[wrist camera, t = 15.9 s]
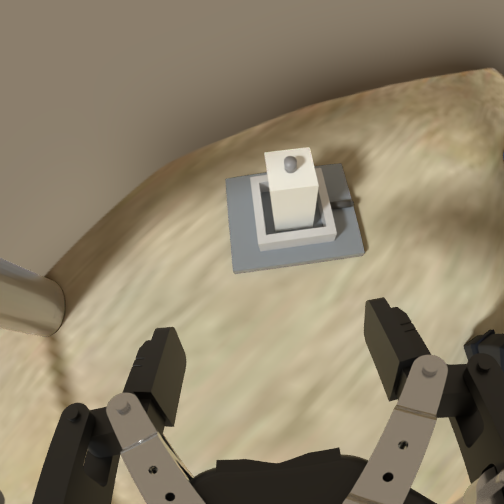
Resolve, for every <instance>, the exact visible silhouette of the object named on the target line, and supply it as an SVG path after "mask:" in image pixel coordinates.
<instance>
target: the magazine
mask: <svg viewBox="0 0 504 504" xmlns="http://www.w3.org/2000/svg"><path fill="white" fill-rule="evenodd" d="M464 349H465V352H466V355H467V358H468V361H469V359H470V358H471V357H472V356H473V355H475V354H478V353H485V354H488V355H491V356H492V357H494V358H495V359H496V361H497V362H498V364H499V365H500V367H501V369H502V371H503V372H504V334H495V331H494V330H489V331H488V332H486V333H485V334H484V335H478V336H476V337H475V338H474V339H472V340H471V341H469V342H468V343H467V344H465V345H464Z"/></svg>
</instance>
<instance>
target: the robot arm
mask: <svg viewBox="0 0 504 504" xmlns="http://www.w3.org/2000/svg"><path fill="white" fill-rule="evenodd" d="M64 312H65V299H64V294H63V292H62V289H61V288H60V286H59V285H58V284H57V283H56V282H55V281H53V280H50V279H48V278H45V277H43V276H41V275H38V274H36V273H34V272H31V271H29V270H27V269H24V268H22V267H20V266H17V265H15V264H13V263H11V262H9V261H6V260H4V259H2V258H0V328H3V329H7V330H12V331H17V332H22V333H26V334H32V335H37V336H43V337H47V336H51V335H52V334H54V333H55V332H56V331H57V330H58V328H59V327H60V325H61V323H62V320H63V317H64ZM364 336H365V341H366V344H367V346H368V349H369V351H370V354H371V356H372V358H373V361H374V363H375V366H376V368H377V371H378V374H379V376H380V379H381V381H382V384H383V386H384V389H385V392H386V394H387V397H388V400H389V401H392V400H396V399H398V403H397V405H396V406H395V408H394V410H393V412H392V414H391V417H390V419H389V421H388V423H387V425H386V427H385V430H384V432H383V434H382V436H381V438H380V440H379V442H378V444H377V446H376V448H375V450H374V452H373V453H372V455H371V457H370V459H369V461H368V460H366V459H363V458H360V457H356V456H351V455H341V454H340V449H339V448H334V449H329V450H323V451H317V452H311V453H307V454H304V455H302V456H299V457H296V458H293V459H290V460H288V461H285V462H282V463H268V462H261V461H254V460H248V459H240V460H217V464H216V468H212V469H210V470H207V471H204V472H202V473H200V474H198V475H197V476H195V477H194V476H193V475H192V474H191V473H190V471H189V470H188V469H187V468H186V466H185V465H184V464H183V462H182V461H181V459H180V458H179V456H178V455H177V454H176V452H175V451H174V449H173V448H172V446H171V445H170V443H169V442H168V440H167V439H166V437H165V435H164V434H163V431H164V426H168V427H174V423H175V418H176V413H177V408H178V403H179V398H180V393H181V388H182V383H183V378H184V373H185V369H186V355H185V352H184V349H183V347H182V345H181V342H180V340H179V337H178V335H177V332H176V330H175V328H174V327H166V328H156V329H155V331H154V334H153V336H152V339H151V340H148V341H146V342H145V343H144V344H143V345H142V346H141V347H140V348H139V350H138V353H137V356H136V360H135V361H134V363H133V367H132V369H131V371H130V374H129V377H128V379H127V382H126V385H125V388H124V390H123V393H121V394H118V395H116V396H114V397H113V398H112V399H111V400H110V401H109V403H108V404H107V407H103V408H99V409H94V410H89V409H88V408H87V406H86V405H84V404H82V403H74V404H71V405H69V406H68V407H67V408H65V410H64V411H63V412H62V414H61V417H60V420H59V422H58V425H57V428H56V430H55V433H54V436H53V438H52V441H51V444H50V447H49V450H48V453H47V456H46V459H45V462H44V465H43V468H42V471H41V474H40V478H39V481H38V484H37V488H36V491H35V495H34V499H33V502H32V504H111V501H112V495H113V489H114V484H115V478H116V473H117V468H118V463H119V458H120V454H121V456H122V458H123V460H124V463H125V465H126V467H127V469H128V471H129V472H130V474H131V476H132V478H133V480H134V482H135V484H136V486H137V488H138V489H139V491H140V493H141V495H142V496H143V498H144V500H145V502H146V503H147V504H437V503H435V502H433V501H431V500H430V499H428V498H426V497H425V496H423V495H421V494H420V493H418V492H416V491H415V490H413V489H412V488H411V485H412V483H413V481H414V479H415V477H416V474H417V472H418V470H419V467H420V465H421V462H422V460H423V457H424V455H425V452H426V449H427V447H428V444H429V441H430V438H431V436H432V433H433V430H434V427H435V424H436V420H437V418H443V417H449V420H450V422H451V425H452V428H453V430H454V433H455V436H456V439H457V442H458V444H459V447H460V450H461V453H462V456H463V459H464V462H465V466H466V469H467V472H468V475H469V479H470V482H471V485H470V486H469V487H468V488H467V489H466V491H465V493H464V497H463V503H464V504H504V372H503V371H502V369H501V367H500V365H499V364H498V362H497V361H496V359H495V358H494V357H492V356H491V355H488V354H485V353H478V354H475V355H473V356H472V357H471V358H470V359H469V361H468V363H467V364H458V365H448V364H446V363H445V362H444V360H442V359H441V358H440V357H437V356H434V355H431V354H430V352H429V350H428V348H427V347H426V345H425V343H424V342H423V340H422V338H421V337H420V335H419V333H418V332H417V330H416V328H415V327H414V325H413V323H411V320H410V319H409V317H408V315H407V314H406V313H405V312H404V311H402V310H401V309H399V308H398V307H394V308H391V307H390V306H389V304H388V302H387V301H386V299H385V298H384V297H382V298H377V299H372V300H367V301H366V305H365V320H364ZM87 450H88V451H87ZM86 452H87V454H86ZM85 456H86V458H85ZM84 460H85V462H84ZM83 464H84V466H83Z"/></svg>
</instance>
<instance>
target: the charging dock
mask: <svg viewBox="0 0 504 504" xmlns="http://www.w3.org/2000/svg"><path fill="white" fill-rule="evenodd" d="M314 168H315V172H316V176H317V181H318V185H319V187H318V194H317V201H316V208H315V215H314V222H313V227H312V228H304V229H296V230H288V231H280V232H275V225H274V218H273V211H272V203H271V196H270V189H269V182H268V175H267V172H266V173H260V174H253V175H247V176H240V177H234V178H228V179H225V180H226V193H227V206H228V218H229V230H230V242H231V253H232V264H233V272H234V273H235V274H238V273H246V272H253V271H260V270H268V269H275V268H282V267H289V266H296V265H303V264H310V263H317V262H324V261H331V260H338V259H344V258H351V257H358V256H363V254H364V253H365V252H364V247H363V243H362V239H361V234H360V230H359V226H358V222H357V218H356V214H355V210H354V207H353V205H354V202H353V200H352V199H351V195H350V192H349V188H348V185H347V181H346V178H345V174H344V171H343V168H342V164H341V163H340V164H330V165H321V166H314Z"/></svg>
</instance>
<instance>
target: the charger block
mask: <svg viewBox="0 0 504 504" xmlns="http://www.w3.org/2000/svg"><path fill="white" fill-rule="evenodd" d="M264 154H265V161H266V168H267V175H268V182H269V189H270V196H271V203H272V211H273V218H274V225H275V232H280V231H288V230H296V229H304V228H312V227H313V222H314V215H315V208H316V201H317V194H318V187H319V185H318V181H317V176H316V172H315V168H314V163H313V159H312V155H311V151H310V147H308V148H298V149H289V150H281V151H273V152H265V153H264Z"/></svg>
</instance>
